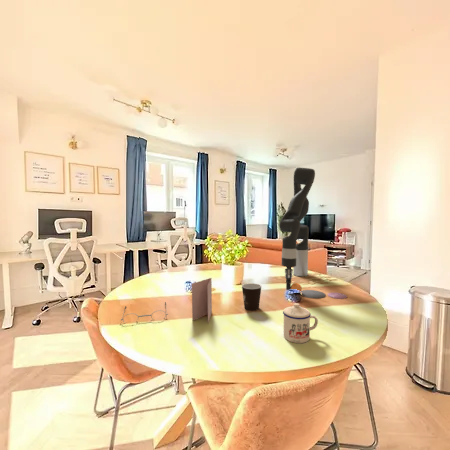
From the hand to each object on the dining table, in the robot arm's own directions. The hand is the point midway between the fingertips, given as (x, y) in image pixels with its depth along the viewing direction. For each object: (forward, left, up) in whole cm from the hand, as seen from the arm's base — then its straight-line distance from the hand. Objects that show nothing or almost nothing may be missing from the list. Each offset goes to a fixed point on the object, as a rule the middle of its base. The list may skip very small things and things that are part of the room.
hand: (288, 289), depth 136 cm
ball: (0, +4, +1) cm, 4 cm away
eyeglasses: (+39, -60, -3) cm, 72 cm away
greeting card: (+40, -32, -2) cm, 51 cm away
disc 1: (-1, +12, -2) cm, 12 cm away
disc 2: (-1, +24, -2) cm, 24 cm away
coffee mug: (+23, -16, -2) cm, 28 cm away
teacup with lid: (+48, +4, -2) cm, 48 cm away
